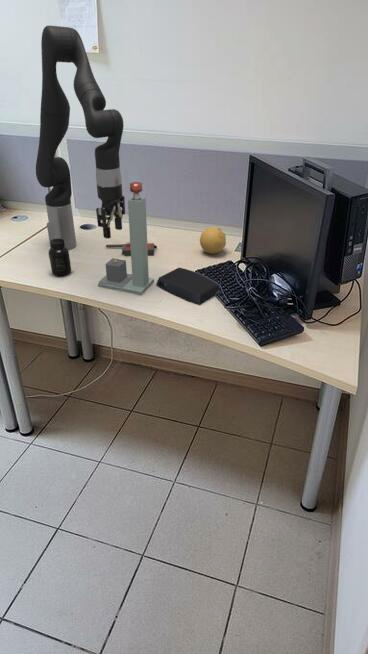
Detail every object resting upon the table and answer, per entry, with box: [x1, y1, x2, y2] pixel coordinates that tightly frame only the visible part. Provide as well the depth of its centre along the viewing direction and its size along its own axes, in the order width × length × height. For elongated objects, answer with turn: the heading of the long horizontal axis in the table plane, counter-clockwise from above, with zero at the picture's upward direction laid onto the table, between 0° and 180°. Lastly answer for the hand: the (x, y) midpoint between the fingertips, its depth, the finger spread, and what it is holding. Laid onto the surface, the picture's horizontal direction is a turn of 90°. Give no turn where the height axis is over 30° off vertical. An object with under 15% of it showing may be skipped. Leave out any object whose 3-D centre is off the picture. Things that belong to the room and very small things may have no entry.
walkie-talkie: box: [105, 241, 158, 257], centre depth 182 cm, size 9×4×20 cm
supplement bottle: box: [48, 239, 72, 278], centre depth 164 cm, size 7×7×12 cm
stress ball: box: [199, 226, 227, 255], centre depth 179 cm, size 10×10×10 cm
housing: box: [104, 257, 128, 283], centre depth 159 cm, size 5×5×7 cm
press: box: [97, 195, 155, 296], centre depth 152 cm, size 16×10×30 cm, turn 69°
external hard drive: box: [155, 267, 221, 306], centre depth 158 cm, size 13×19×4 cm
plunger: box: [129, 181, 143, 200], centre depth 142 cm, size 4×4×8 cm
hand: (113, 233), depth 152 cm, fingers open, 7 cm apart
